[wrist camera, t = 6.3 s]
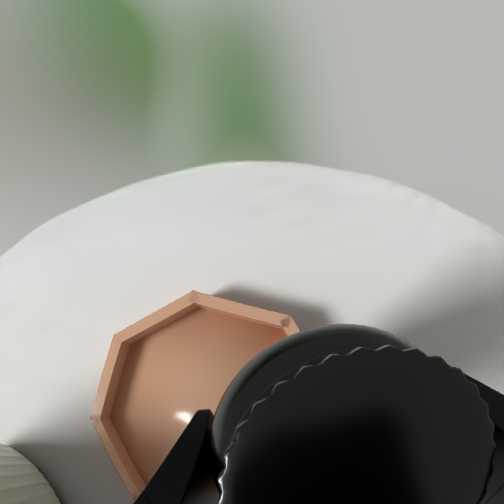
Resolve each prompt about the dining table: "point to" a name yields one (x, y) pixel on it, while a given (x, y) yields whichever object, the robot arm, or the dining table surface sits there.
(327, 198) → the dining table surface
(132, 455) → the terracotta octagonal tray
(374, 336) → the supplement bottle
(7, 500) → the canister
